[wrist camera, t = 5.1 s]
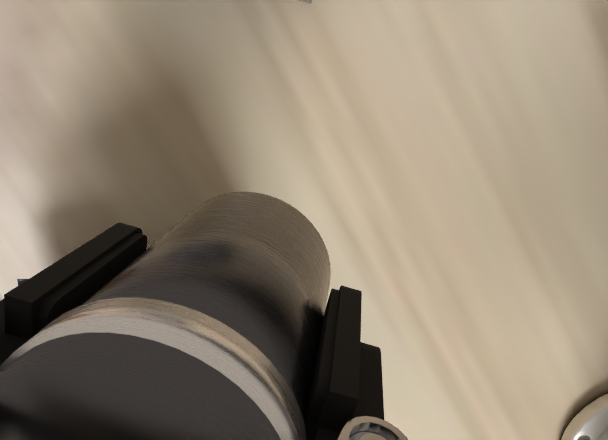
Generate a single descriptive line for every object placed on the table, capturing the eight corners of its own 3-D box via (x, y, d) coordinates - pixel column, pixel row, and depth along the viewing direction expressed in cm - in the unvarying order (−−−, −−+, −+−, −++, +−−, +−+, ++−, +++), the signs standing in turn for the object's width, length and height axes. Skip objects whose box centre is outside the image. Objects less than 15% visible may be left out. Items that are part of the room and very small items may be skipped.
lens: (353, 215, 13) (336, 436, 5) (310, 358, 14) (250, 674, 7) (182, 168, 13) (-77, 312, 5) (161, 314, 15) (-53, 576, 7)
